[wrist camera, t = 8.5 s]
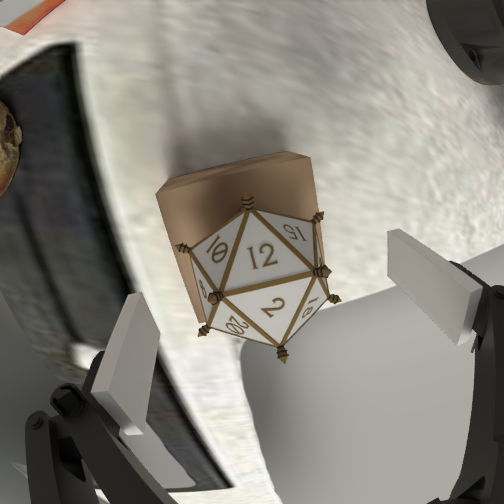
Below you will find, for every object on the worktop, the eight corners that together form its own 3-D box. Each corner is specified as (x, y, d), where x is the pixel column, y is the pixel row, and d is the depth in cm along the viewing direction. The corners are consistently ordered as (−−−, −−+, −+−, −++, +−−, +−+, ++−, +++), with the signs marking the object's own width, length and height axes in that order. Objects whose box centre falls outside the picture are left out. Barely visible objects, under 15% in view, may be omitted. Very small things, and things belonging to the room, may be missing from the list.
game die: (258, 249, 24) (292, 371, 19) (155, 235, 19) (173, 388, 14) (334, 174, 18) (401, 323, 13) (214, 130, 13) (267, 345, 8)
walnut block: (286, 151, 23) (310, 157, 18) (304, 258, 28) (327, 290, 22) (168, 179, 23) (155, 194, 18) (199, 284, 27) (199, 323, 22)
